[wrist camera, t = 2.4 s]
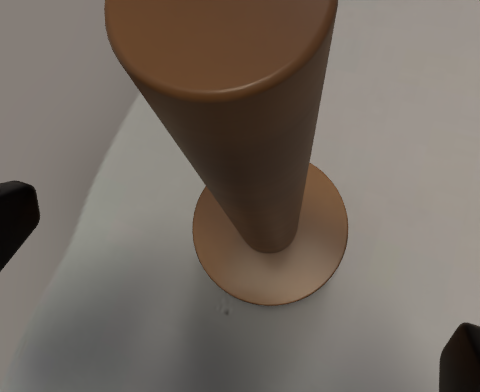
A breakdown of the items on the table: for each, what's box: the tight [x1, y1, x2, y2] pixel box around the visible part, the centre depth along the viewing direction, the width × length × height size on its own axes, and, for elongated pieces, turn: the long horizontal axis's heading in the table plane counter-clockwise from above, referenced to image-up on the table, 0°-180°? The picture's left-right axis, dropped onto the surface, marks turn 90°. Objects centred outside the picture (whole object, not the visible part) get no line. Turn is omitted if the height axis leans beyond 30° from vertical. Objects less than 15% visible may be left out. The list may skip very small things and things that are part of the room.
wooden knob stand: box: [104, 0, 348, 306], centre depth 11 cm, size 6×6×15 cm
